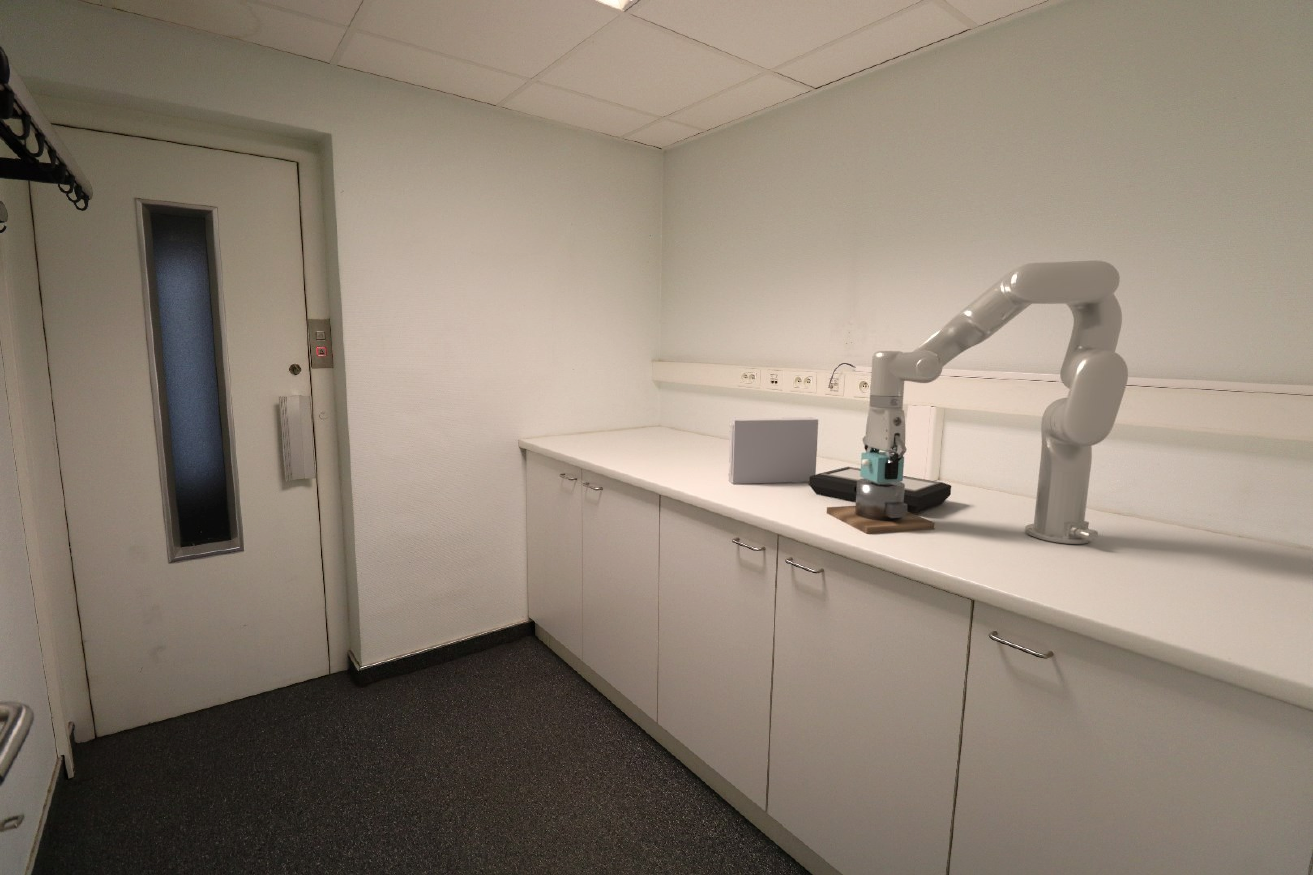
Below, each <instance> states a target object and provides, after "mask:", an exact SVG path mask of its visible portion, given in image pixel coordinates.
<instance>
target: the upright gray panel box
mask: <svg viewBox="0 0 1313 875" xmlns="http://www.w3.org/2000/svg"><path fill="white" fill-rule="evenodd" d="M729 421H730V422H729V423H730V424H729V428H730V429H729V457H728V460H729V462H728V463H729V468H728V481H729V483H731V484H733V485H743V484H747V485H748V484H774V483H775V484H779V483H808V482H809V478H810V476H813V475H816V474H817V455H818V438H819V437H818V434H819V433H818V432H819V419H818V418H814V417H782V418H781V417H779V418H778V417H776V418H772V417H771V418H769V417H768V418H736V417H735V418H734V417H732V418H730V420H729Z"/></svg>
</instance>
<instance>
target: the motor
mask: <svg viewBox="0 0 1313 875" xmlns="http://www.w3.org/2000/svg"><path fill="white" fill-rule="evenodd" d="M904 490H905V484H904V483H902V482H881V483H876V482H874V481H871V480H868V479H865V478H864V479H859V480H857V490H856V502H855V505H854V506H855V514H856V515H858V516H860V517H863V518H866V519H871V520H878V521H895V520H900V519H902V517H907V506H908V505H907V504H905V503H904Z"/></svg>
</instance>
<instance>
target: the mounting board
mask: <svg viewBox="0 0 1313 875" xmlns="http://www.w3.org/2000/svg"><path fill="white" fill-rule="evenodd" d="M855 506H856V505H845V506H844V505H843V506H828V507H826V514H828V515H829V516H832V517H833V518H836V519H837V520H840V521H841V522H844V523H845V524H847V525H850V526H851V527H853V528H855V529H857V530H859V531H861V532H862V531H863V533H864V534H867V535H869V534H881V533H882V534H883V533H893V532H895V533H896V532H897V533H898V532H908V531H911V532H912V531H922V530H923V531H924V530H935V522H934V521H931V520H929V519H927V518H925V517H923V516H922V517H921V516H919V515H918V514H912V513H910V512H907V517H902V519H900V520H895V521H878V520H871V519H866V518H863V517H860V516H858V515H856V514H855Z"/></svg>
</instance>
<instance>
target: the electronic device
mask: <svg viewBox="0 0 1313 875" xmlns="http://www.w3.org/2000/svg"><path fill="white" fill-rule="evenodd" d="M860 472H861V468H858V467H852V466H845V467H841V468H838V469H837V468H836V469H832V470H829V471H825V472H820V473H816V474H815V475H813V476H810V478H809V483H808V485H809V487H810V488H811V489H812V491H813V492H814V493H815V494H816V495H819V496H823V497H828V498H833V499H838V500H843V501H847V502H852V503H856V490H857V480H859V479H864V478H863V477H860ZM901 482H902V483H904V484H905V490H904V503H905V504H907V505H908V506H907V512H910V513H912V514H915V515H918V514H920V513H922V512H925V511H928V510H930V509H933V508H936V507H938V506H941V505H942V504H943V503H944V502H945V501H946V500H947V499H948V498H949V497H950V496H951V493H952V485H951V484H948V483H945V482H943V481H937V480H936V481H935V480H931V479H924V478H918V477H913V476H905V475H903V481H901Z"/></svg>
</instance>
